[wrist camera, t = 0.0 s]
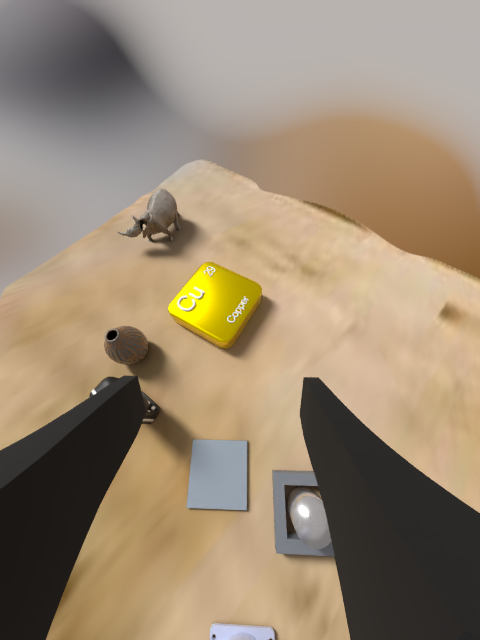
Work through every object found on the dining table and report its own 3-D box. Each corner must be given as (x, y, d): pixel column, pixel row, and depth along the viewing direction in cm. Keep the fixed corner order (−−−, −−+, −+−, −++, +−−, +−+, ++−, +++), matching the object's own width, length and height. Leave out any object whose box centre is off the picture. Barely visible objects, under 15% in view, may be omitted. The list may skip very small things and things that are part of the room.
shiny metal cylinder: (323, 529, 32) (338, 550, 27) (288, 528, 32) (295, 548, 27) (319, 487, 34) (331, 498, 29) (285, 485, 35) (292, 496, 29)
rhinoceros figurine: (199, 207, 59) (156, 178, 46) (183, 256, 63) (138, 243, 49) (178, 199, 62) (131, 170, 49) (163, 247, 65) (116, 232, 52)
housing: (340, 549, 31) (345, 556, 29) (275, 546, 32) (276, 553, 30) (330, 471, 35) (334, 474, 33) (272, 470, 35) (273, 472, 34)
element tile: (228, 353, 45) (226, 345, 40) (170, 319, 49) (162, 309, 44) (264, 296, 50) (265, 284, 46) (209, 270, 54) (205, 256, 49)
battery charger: (166, 406, 40) (137, 399, 30) (151, 425, 39) (115, 425, 29) (140, 383, 42) (104, 369, 32) (124, 401, 41) (82, 392, 31)
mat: (246, 509, 34) (246, 510, 33) (187, 506, 34) (186, 507, 34) (247, 440, 37) (247, 440, 37) (193, 439, 38) (193, 439, 37)
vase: (159, 353, 45) (139, 337, 37) (128, 375, 43) (101, 363, 35) (143, 329, 47) (121, 309, 40) (113, 349, 46) (84, 332, 38)
